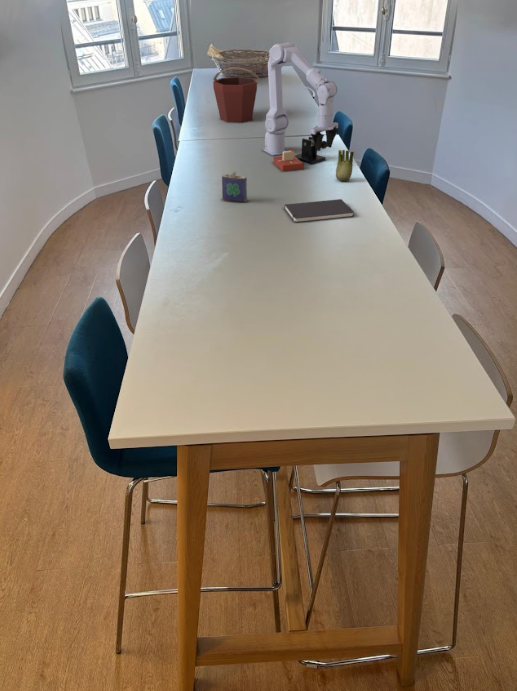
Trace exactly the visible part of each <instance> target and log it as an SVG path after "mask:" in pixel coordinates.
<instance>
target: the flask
mask: <svg viewBox="0 0 517 691" xmlns="http://www.w3.org/2000/svg"><path fill="white" fill-rule="evenodd" d="M247 180H248V178H247V177H246V176H243V175H237V171H235V170H234V171H232V172H231V174H230V173H229V174H228V173H226V174H222V176H221V188H222V190H221V191H222V192H221V193H222V201H224V202H229V203H230V202H231V203H247V201H248V187H247V186H248V184H247Z"/></svg>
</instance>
